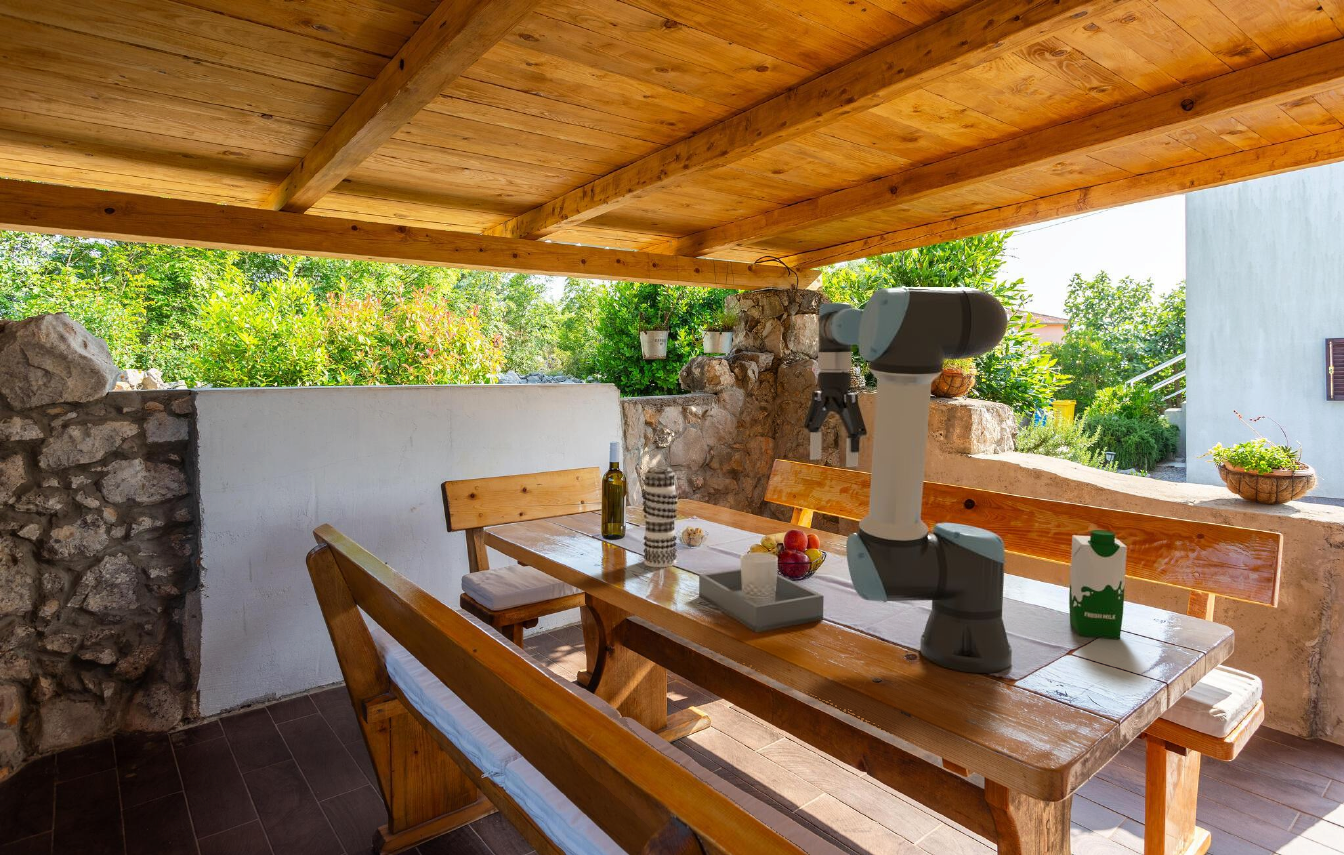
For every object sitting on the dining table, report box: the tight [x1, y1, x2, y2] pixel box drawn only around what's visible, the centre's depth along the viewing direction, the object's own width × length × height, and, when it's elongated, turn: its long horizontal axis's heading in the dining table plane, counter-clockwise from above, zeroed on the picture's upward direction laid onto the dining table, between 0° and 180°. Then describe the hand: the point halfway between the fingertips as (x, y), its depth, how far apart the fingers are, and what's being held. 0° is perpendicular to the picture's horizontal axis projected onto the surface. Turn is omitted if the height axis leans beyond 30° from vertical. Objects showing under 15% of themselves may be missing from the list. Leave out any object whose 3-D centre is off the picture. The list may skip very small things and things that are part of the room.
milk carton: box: [1068, 529, 1128, 640], centre depth 142 cm, size 9×9×20 cm
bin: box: [698, 568, 825, 633], centre depth 157 cm, size 24×16×5 cm, turn 25°
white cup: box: [740, 552, 779, 605], centre depth 157 cm, size 8×8×10 cm
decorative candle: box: [641, 466, 678, 568], centre depth 191 cm, size 9×9×25 cm
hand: (833, 463), depth 172 cm, fingers open, 13 cm apart
